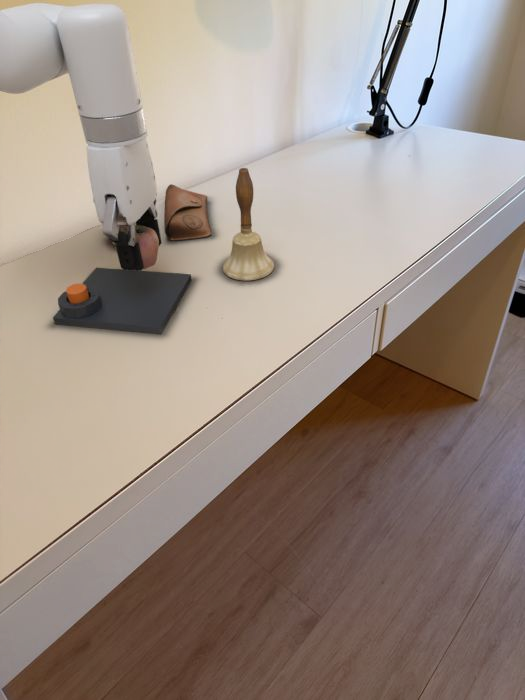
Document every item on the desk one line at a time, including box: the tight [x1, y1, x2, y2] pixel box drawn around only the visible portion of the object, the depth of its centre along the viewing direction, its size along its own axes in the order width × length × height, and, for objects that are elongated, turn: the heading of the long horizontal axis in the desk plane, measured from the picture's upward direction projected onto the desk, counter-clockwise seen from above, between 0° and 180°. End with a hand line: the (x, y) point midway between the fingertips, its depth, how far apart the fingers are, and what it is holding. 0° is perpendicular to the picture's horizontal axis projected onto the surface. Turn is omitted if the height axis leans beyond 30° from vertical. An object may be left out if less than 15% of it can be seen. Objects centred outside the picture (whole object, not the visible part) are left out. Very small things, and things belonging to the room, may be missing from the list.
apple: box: [114, 225, 160, 270], centre depth 74 cm, size 6×8×6 cm
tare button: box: [65, 282, 89, 304], centre depth 74 cm, size 3×3×2 cm
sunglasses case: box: [164, 183, 212, 242], centre depth 99 cm, size 18×7×7 cm
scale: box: [52, 267, 193, 335], centre depth 78 cm, size 16×14×3 cm
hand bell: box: [222, 167, 275, 282], centre depth 80 cm, size 8×8×16 cm
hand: (142, 255), depth 75 cm, fingers closed on apple, 6 cm apart
